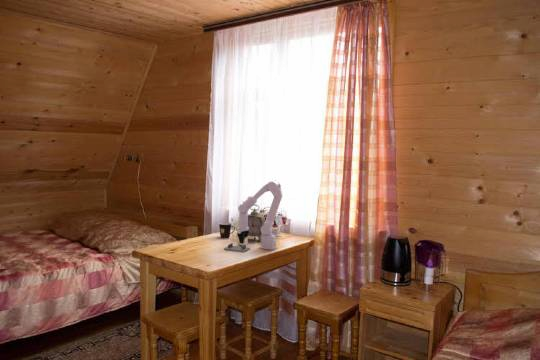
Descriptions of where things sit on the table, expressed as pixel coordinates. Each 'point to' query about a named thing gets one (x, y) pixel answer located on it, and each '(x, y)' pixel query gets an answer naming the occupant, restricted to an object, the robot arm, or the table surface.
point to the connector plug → (244, 241)
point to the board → (237, 248)
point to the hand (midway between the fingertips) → (242, 242)
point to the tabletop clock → (255, 223)
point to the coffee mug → (225, 229)
